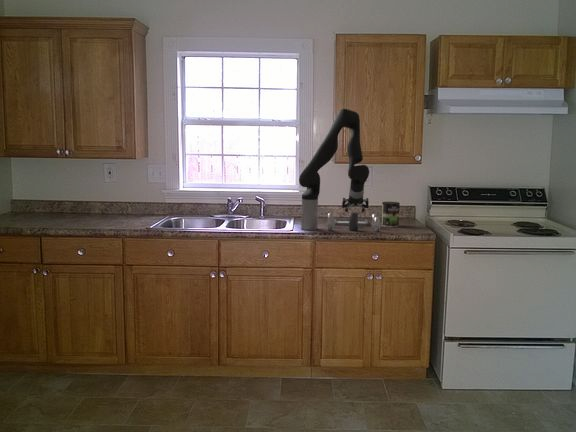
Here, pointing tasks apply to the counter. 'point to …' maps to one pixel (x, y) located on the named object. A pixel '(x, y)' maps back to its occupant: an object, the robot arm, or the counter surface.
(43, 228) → the counter surface
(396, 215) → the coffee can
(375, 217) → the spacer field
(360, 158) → the robot arm
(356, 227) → the black standoff
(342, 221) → the tray
